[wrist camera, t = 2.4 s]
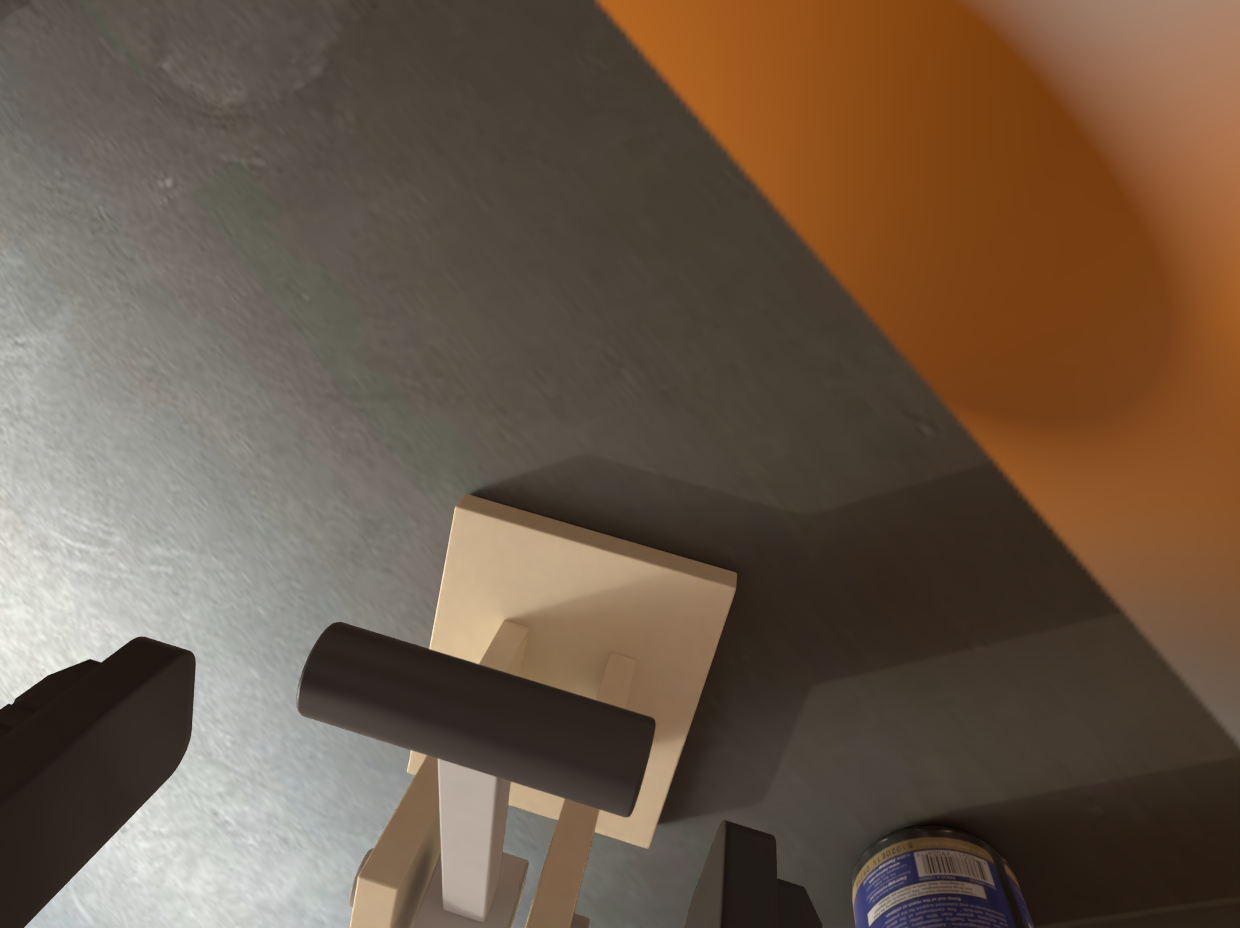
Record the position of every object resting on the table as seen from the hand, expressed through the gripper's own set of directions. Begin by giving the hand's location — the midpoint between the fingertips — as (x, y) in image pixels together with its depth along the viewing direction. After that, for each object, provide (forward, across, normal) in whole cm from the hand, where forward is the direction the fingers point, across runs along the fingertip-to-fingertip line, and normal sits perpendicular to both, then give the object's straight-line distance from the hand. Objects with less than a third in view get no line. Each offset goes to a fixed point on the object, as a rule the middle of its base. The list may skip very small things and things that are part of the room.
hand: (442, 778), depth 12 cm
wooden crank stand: (+17, 0, +10) cm, 20 cm away
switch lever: (+5, 0, +5) cm, 7 cm away
